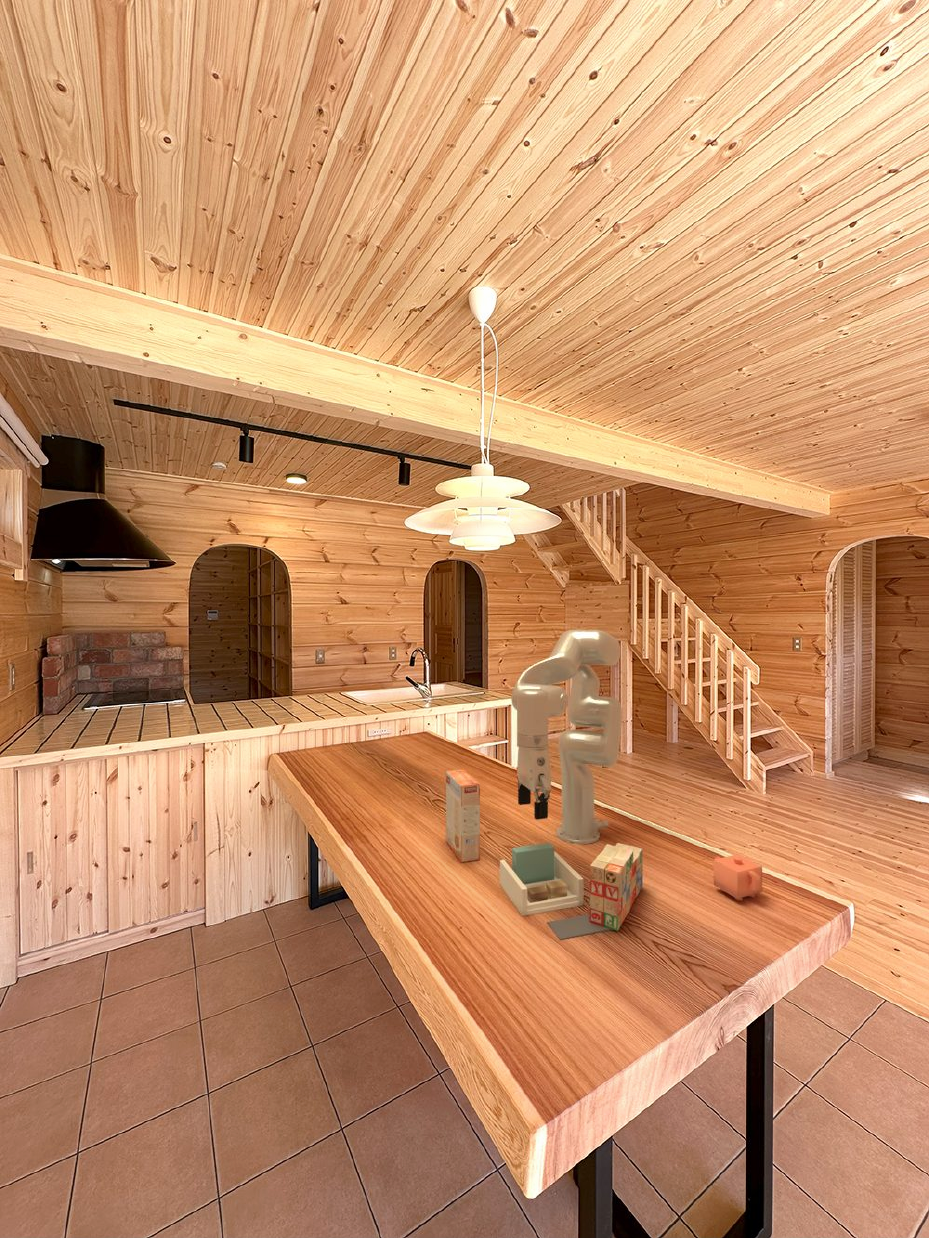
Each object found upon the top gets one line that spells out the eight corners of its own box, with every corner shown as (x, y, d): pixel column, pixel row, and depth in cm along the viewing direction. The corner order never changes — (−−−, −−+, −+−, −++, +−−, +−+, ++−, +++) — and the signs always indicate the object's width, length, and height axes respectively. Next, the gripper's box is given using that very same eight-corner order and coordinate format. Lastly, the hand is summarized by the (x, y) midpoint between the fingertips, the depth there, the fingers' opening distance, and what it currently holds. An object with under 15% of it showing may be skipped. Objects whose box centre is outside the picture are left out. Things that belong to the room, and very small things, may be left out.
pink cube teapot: (727, 876, 130) (727, 843, 130) (770, 901, 119) (770, 865, 119) (703, 882, 127) (703, 848, 127) (745, 908, 116) (745, 871, 116)
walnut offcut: (543, 896, 120) (543, 885, 120) (548, 902, 117) (547, 891, 117) (527, 899, 118) (527, 888, 118) (531, 905, 116) (531, 893, 116)
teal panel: (549, 876, 128) (549, 842, 128) (554, 881, 126) (554, 846, 126) (512, 882, 125) (512, 848, 125) (516, 888, 123) (516, 852, 123)
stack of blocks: (616, 879, 129) (617, 830, 128) (642, 886, 125) (643, 836, 125) (588, 921, 110) (589, 864, 110) (618, 931, 107) (619, 872, 107)
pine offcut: (562, 892, 121) (561, 880, 121) (567, 898, 119) (567, 885, 118) (546, 895, 120) (546, 882, 120) (551, 901, 117) (551, 888, 117)
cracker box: (481, 860, 139) (481, 782, 139) (460, 864, 137) (459, 785, 137) (465, 838, 152) (464, 768, 152) (445, 841, 151) (444, 770, 150)
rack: (555, 875, 131) (555, 851, 131) (583, 905, 118) (583, 878, 118) (499, 884, 127) (499, 860, 127) (522, 916, 113) (522, 889, 113)
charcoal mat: (600, 913, 114) (600, 911, 114) (616, 929, 109) (616, 927, 109) (547, 924, 111) (547, 922, 111) (560, 941, 105) (560, 939, 105)
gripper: (563, 747, 118) (563, 822, 118) (532, 731, 135) (532, 797, 135) (533, 750, 116) (533, 826, 116) (505, 733, 132) (504, 800, 132)
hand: (532, 811), depth 125 cm, fingers open, 9 cm apart
